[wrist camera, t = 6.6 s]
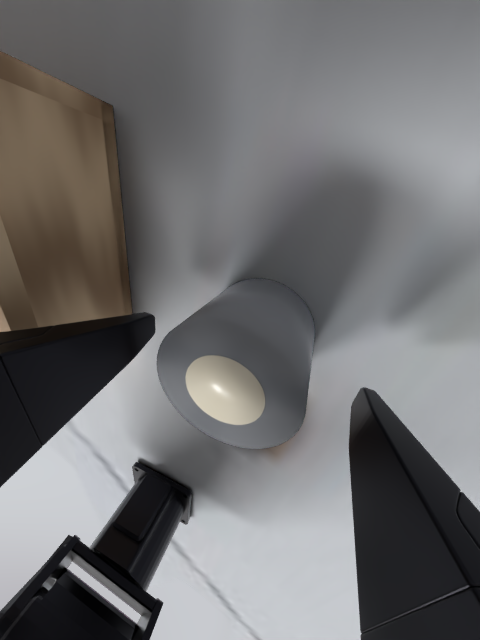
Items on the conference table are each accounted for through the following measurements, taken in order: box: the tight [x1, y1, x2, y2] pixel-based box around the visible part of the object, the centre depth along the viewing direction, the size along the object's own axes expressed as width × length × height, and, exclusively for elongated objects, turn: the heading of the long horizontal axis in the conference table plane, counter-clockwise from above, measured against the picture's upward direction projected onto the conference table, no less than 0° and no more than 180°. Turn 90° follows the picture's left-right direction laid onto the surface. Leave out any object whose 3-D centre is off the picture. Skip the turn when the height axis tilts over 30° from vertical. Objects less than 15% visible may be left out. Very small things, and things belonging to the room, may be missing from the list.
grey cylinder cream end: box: [157, 278, 315, 449], centre depth 9 cm, size 5×5×5 cm
